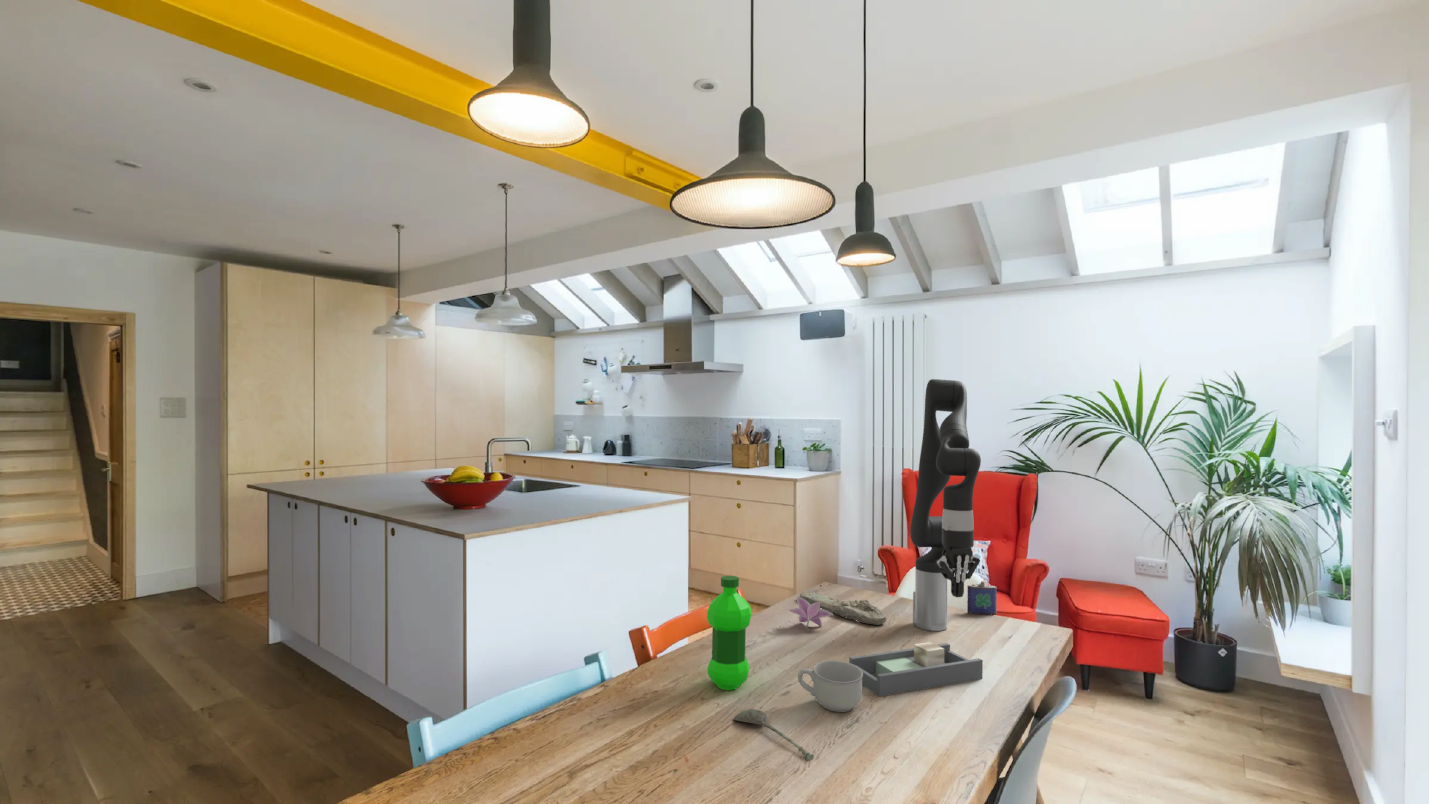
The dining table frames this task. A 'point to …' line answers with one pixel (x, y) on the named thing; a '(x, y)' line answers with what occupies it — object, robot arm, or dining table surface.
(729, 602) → the plastic bottle
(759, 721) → the soupspoon
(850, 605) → the long grey stone
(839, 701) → the teacup
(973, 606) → the blue clover-printed container
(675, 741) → the dining table surface
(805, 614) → the lily
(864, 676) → the trap lane
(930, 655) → the block
